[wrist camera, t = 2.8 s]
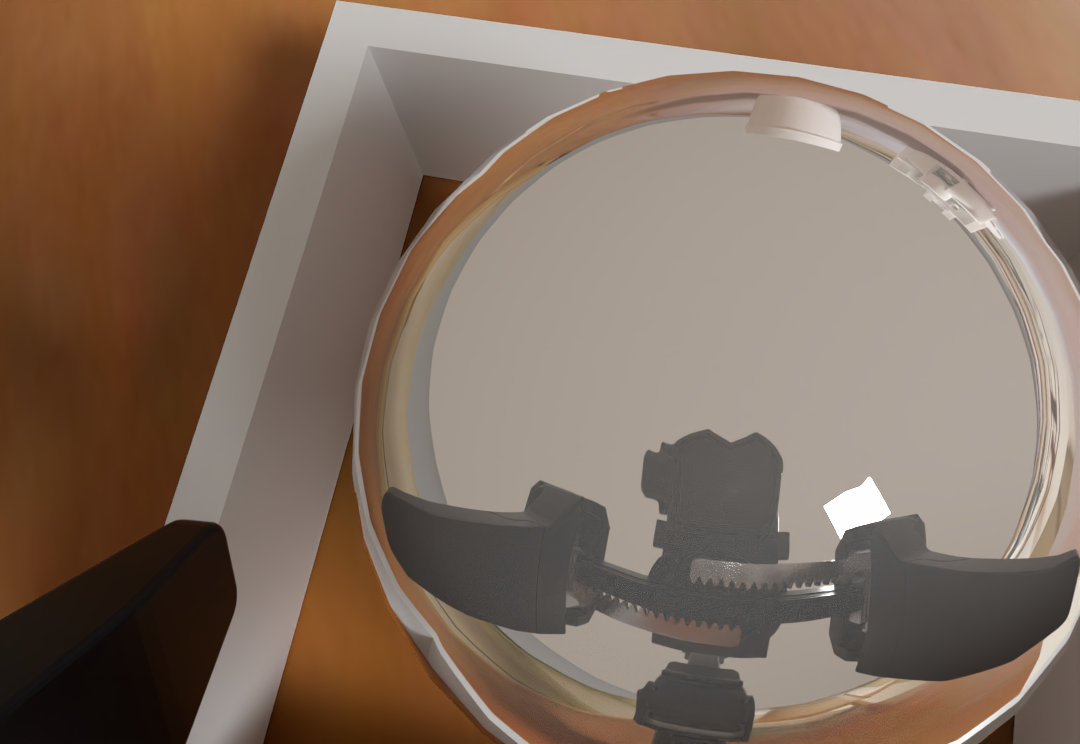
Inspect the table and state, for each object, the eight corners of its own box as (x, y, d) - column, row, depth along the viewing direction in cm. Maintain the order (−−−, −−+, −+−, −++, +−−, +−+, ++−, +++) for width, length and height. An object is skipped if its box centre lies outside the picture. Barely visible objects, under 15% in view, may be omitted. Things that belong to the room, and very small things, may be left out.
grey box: (1039, 1086, 14) (1226, 1285, 10) (189, 846, 16) (34, 923, 12) (1093, 246, 18) (1244, 123, 14) (397, 137, 20) (336, 0, 16)
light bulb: (420, 467, 18) (57, 163, 6) (719, 295, 18) (891, -280, 7) (600, 803, 16) (552, 1260, 4) (930, 600, 16) (1680, 523, 5)
